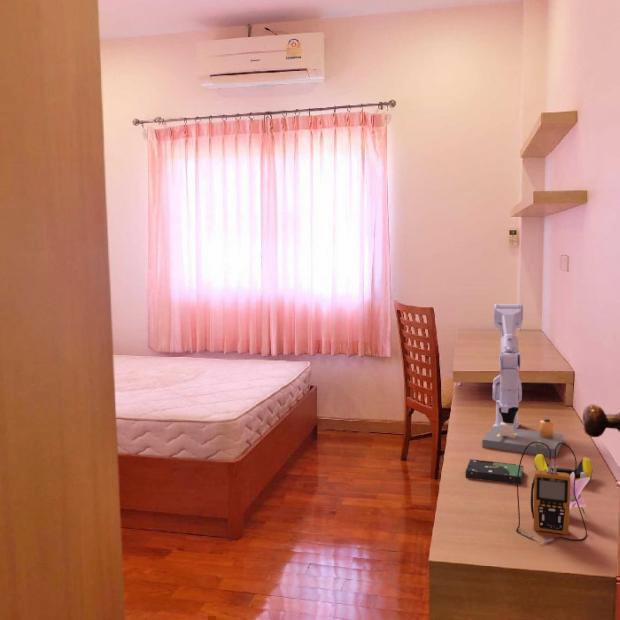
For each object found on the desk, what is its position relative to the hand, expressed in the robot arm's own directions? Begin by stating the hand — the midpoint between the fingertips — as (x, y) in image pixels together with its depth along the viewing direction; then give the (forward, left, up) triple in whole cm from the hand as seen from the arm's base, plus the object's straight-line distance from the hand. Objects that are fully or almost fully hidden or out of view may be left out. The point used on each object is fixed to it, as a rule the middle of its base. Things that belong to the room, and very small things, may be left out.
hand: (508, 429), depth 201 cm
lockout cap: (-3, +11, -2) cm, 12 cm away
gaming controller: (+28, +20, -4) cm, 35 cm away
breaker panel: (+1, +5, -4) cm, 7 cm away
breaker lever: (+3, 0, -1) cm, 3 cm away
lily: (+53, +24, -4) cm, 58 cm away
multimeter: (+67, +22, -4) cm, 71 cm away
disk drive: (+34, +3, -5) cm, 34 cm away
